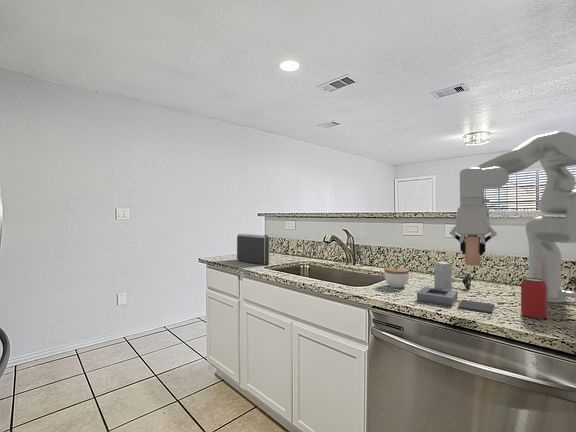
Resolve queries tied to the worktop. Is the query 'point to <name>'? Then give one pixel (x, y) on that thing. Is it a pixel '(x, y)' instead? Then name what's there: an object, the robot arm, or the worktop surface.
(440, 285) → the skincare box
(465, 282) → the valve
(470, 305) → the mat
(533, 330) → the worktop surface
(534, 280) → the beer can
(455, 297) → the housing
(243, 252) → the dark grey box
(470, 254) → the tan tall block
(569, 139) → the robot arm
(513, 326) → the worktop surface
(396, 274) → the lidded jar
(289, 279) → the worktop surface
